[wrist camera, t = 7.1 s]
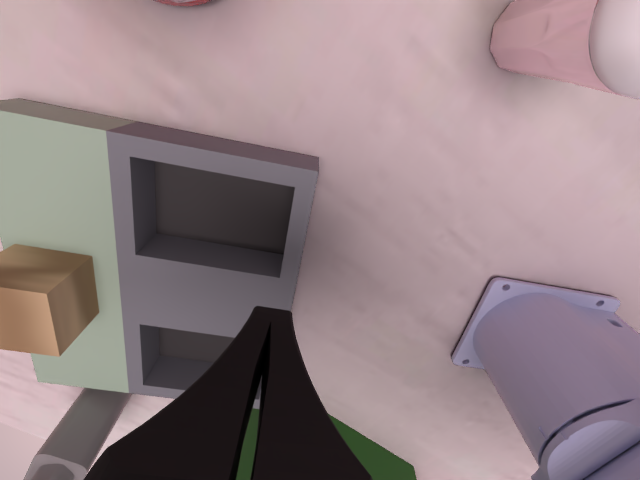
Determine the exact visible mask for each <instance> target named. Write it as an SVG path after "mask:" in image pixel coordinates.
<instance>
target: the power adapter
mask: <svg viewBox="0 0 640 480" xmlns="http://www.w3.org/2000/svg"><path fill="white" fill-rule="evenodd" d="M131 395H132V393H124V392H116V391H108V390H100V389H92V388H84V389H83V391H82V392H81V394H80V395H79V396H78V398H77V399H76V400H75V402H74V403H73V405H72V406H71V407H70V409H69V410H68V411H67V413H66V414H65V416H64V417H63V418H62V420H61V421H60V422H59V424H58V425H57V427H56V428H55V429H54V431H53V432H52V433H51V435H50V436H49V437H48V439H47V440H46V442H45V443H44V444H43V446H42V447H41V449H40V450H39V451H38V453H37V454H36V455H35V457H34V458H33V460H32V462H31V464H30V467H29V469H28V471H27V473H26V475H25V477H24V480H83V479H84V477H85V476H86V474H87V472H88V471H89V469H90V467H91V465H92V464H93V462H94V460H95V458H96V457H97V455H98V453H99V451H100V450H101V448H102V446H103V444H104V443H105V441H106V439H107V437H108V435H109V434H110V432H111V430H112V428H113V427H114V425H115V423H116V421H117V420H118V418H119V416H120V414H121V413H122V411H123V409H124V407H125V406H126V404H127V402H128V400H129V399H130V397H131Z"/></svg>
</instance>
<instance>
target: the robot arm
mask: <svg viewBox="0 0 640 480" xmlns="http://www.w3.org/2000/svg"><path fill="white" fill-rule="evenodd" d="M506 284H507V285H506ZM504 285H506V286H505V287H503V286H504ZM619 306H620V301H619V300H618V299H617V298H615V297H612V296H606V295H600V294H594V293H588V292H583V291H577V290H571V289H565V288H559V287H553V286H547V285H542V284H536V283H530V282H524V281H518V280H512V279H507V278H501V277H497V278H494V279H492V280H491V281H490V283H489V285H488V287H487V289H486V291H485V293H484V295H483V297H482V298H481V300H480V302H479V304H478V306H477V308H476V310H475V312H474V314H473V316H472V318H471V320H470V322H469V324H468V326H467V328H466V330H465V332H464V334H463V336H462V338H461V340H460V342H459V343H458V345H457V347H456V349H455V351H454V353H453V355H452V358H451V359H452V362H453V363H454V364H455V365H459V366H466V367H473V368H480V369H485V370H486V372H487V374H488V376H489V377H490V379H491V381H492V383H493V385H494V386H495V388H496V390H497V392H498V394H499V395H500V397H501V399H502V401H503V403H504V404H505V406H506V408H507V410H508V411H509V413H510V415H511V417H512V419H513V420H514V422H515V424H516V426H517V428H518V429H519V431H520V433H521V435H522V437H523V438H524V440H525V442H526V444H527V446H528V447H529V449H530V451H531V453H532V455H533V456H534V458H535V460H536V462H537V464H538V465H539V469H538V470H537V471H536V472H535V473H534V474H533V475H532V476H531V478H532V480H640V334H639V333H638V332H636V331H635V330H634V329H633V328H632V327H630V326H629V325H628V324H627V323H626V322H624V321H623V320H622V319H621V318H620V317H618V316H617V315H616V314H615V311H616V310H617V309H618V307H619ZM261 376H262V382H261V394H260V406H259V418H258V430H257V440H256V448H255V454H254V460H253V466H252V472H251V478H250V480H373V479H372V476H371V475H370V474H369V473H368V471H367V470H366V469H365V467H364V466H363V465H362V464H361V462H360V461H359V460H358V458H357V457H356V456H355V454H354V453H353V452H352V450H351V449H350V448H349V446H348V445H347V443H346V442H345V440H344V439H343V437H342V436H341V434H340V433H339V431H338V430H337V428H336V426H335V425H334V423H333V421H332V420H331V418H330V417H329V415H328V413H327V412H326V410H325V408H324V406H323V404H322V402H321V400H320V399H319V397H318V395H317V393H316V390H315V388H314V386H313V384H312V382H311V380H310V377H309V375H308V372H307V370H306V367H305V365H304V362H303V359H302V356H301V353H300V350H299V346H298V343H297V340H296V336H295V331H294V326H293V320H292V313H291V312H290V311H289V310H282V309H276V308H269V307H263V306H256V307H254V309H253V311H252V313H251V315H250V316H249V318H248V320H247V321H246V323H245V324H244V326H243V327H242V329H241V330H240V332H239V333H238V334H237V336H236V337H235V338H234V340H233V341H232V342H231V344H230V345H229V346H228V347H227V348H226V350H225V351H224V352H223V353H222V354H221V355H220V357H219V358H218V359H217V360H216V361H215V362H214V363H213V364H212V365H211V367H210V368H209V369H208V370H207V371H206V372H205V373H204V374H203V375H202V376H201V377H200V378H199V379H198V380H196V381H195V382H194V383H193V384H192V385H191V386H190V387H189V388H188V389H187V390H185V391H184V392H183V393H182V394H181V395H180V396H179V397H177V398H176V399H175V400H174V401H173V402H171V403H170V404H169V405H167V406H166V407H165V408H164V409H162V410H161V411H160V412H158V413H157V414H156V415H154V416H153V417H152V418H150V419H149V420H148V421H146V422H145V423H144V424H142V425H141V426H139V427H138V428H136V429H135V430H133V431H132V432H130V433H129V434H127V435H126V436H124V437H123V438H121V439H120V440H118V441H117V442H115V443H114V444H112V445H111V446H109V447H108V448H107V449H106V450H105V451H104V452H103V454H102V455H101V456H100V457H99V459H98V460H97V461H96V463H95V464H94V465H93V467H92V468H91V469H90V471H89V472H88V474H87V475H86V477H85V478H84V479H83V480H236V477H237V472H238V467H239V462H240V457H241V451H242V446H243V442H244V438H245V434H246V430H247V426H248V423H249V419H250V416H251V412H252V409H253V405H254V401H255V398H256V394H257V391H258V387H259V384H260V380H261Z"/></svg>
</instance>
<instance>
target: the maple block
mask: <svg viewBox="0 0 640 480" xmlns="http://www.w3.org/2000/svg"><path fill="white" fill-rule="evenodd" d="M98 313H99V306H98V298H97V290H96V282H95V274H94V266H93V258H92V256H89V255H83V254H77V253H70V252H64V251H58V250H51V249H45V248H39V247H32V246H26V245H20V244H13V245H12V246H10V247H8V248H6V249H5V250H3V251H1V252H0V349H3V350H11V351H19V352H26V353H34V354H42V355H49V356H57V357H60V356H61V355H62V354H63V353H64V352H65V350H66V349H67V348H68V347H69V346H70V345H71V344H72V343H73V341H74V340H75V339H76V338H77V337H78V336H79V335H80V334H81V333H82V331H83V330H84V329H85V328H86V327H87V326H88V325H89V324H90V322H91V321H92V320H93V319H94V318H95V317H96V316H97V315H98Z"/></svg>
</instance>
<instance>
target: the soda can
mask: <svg viewBox="0 0 640 480" xmlns="http://www.w3.org/2000/svg"><path fill="white" fill-rule="evenodd" d="M153 1H156V2H159V3H163V4H168V5H174V6H193V5H199V4H203V3H207V2H209V1H212V0H153Z"/></svg>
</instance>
